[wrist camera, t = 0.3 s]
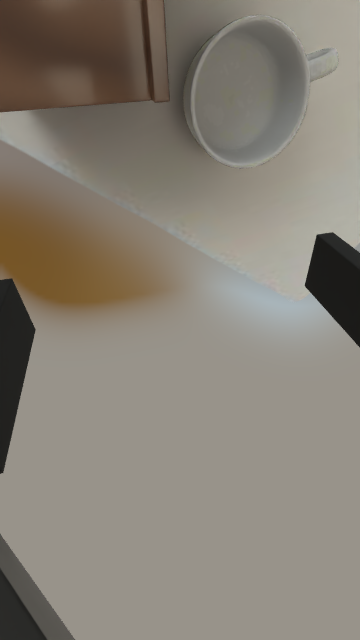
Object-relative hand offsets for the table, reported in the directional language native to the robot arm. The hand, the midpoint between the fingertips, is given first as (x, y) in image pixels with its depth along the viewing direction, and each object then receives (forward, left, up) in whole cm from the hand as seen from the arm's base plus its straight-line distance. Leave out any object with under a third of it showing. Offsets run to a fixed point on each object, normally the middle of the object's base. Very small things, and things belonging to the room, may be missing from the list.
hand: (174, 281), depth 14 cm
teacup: (-4, +12, -28) cm, 30 cm away
